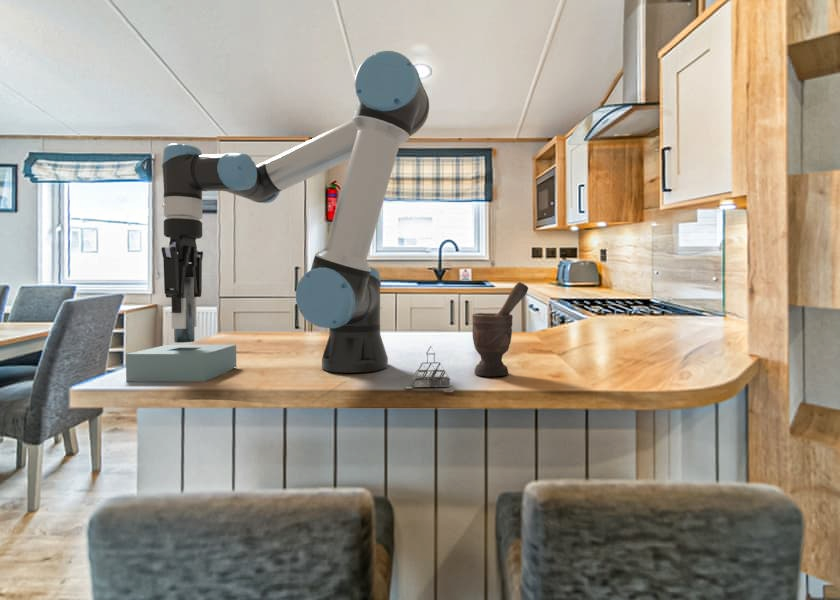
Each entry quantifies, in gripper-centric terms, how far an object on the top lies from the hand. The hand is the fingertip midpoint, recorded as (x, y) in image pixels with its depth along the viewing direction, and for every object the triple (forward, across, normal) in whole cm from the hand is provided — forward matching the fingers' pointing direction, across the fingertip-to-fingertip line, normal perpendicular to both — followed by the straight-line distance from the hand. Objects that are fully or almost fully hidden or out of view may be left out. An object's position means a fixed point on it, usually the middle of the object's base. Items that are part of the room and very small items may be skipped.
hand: (184, 327), depth 106 cm
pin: (+3, 0, 0) cm, 3 cm away
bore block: (+10, 0, 0) cm, 10 cm away
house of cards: (+11, +12, +53) cm, 55 cm away
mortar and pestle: (+10, 0, +68) cm, 69 cm away
